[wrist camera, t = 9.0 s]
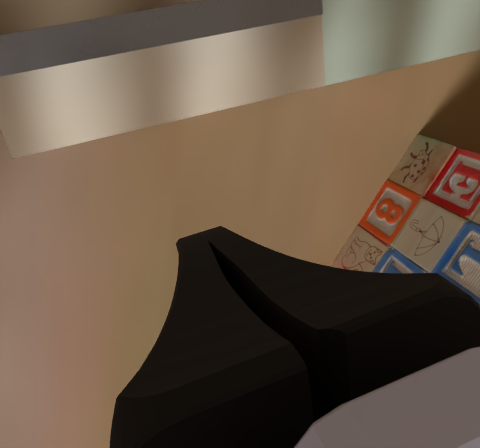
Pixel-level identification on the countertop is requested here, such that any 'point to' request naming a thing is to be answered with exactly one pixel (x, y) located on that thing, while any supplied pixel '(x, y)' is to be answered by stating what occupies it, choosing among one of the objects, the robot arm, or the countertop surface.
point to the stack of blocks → (423, 218)
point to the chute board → (214, 64)
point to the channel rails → (142, 30)
